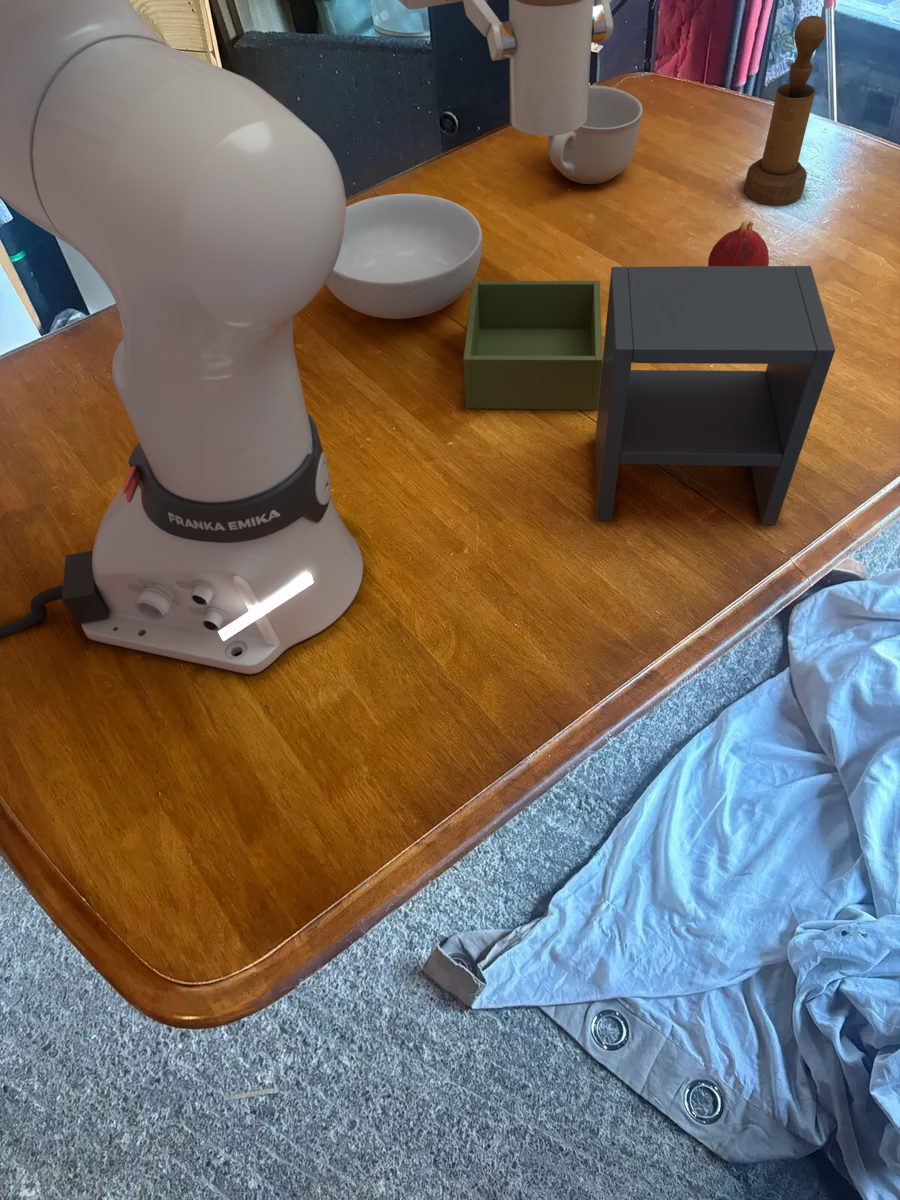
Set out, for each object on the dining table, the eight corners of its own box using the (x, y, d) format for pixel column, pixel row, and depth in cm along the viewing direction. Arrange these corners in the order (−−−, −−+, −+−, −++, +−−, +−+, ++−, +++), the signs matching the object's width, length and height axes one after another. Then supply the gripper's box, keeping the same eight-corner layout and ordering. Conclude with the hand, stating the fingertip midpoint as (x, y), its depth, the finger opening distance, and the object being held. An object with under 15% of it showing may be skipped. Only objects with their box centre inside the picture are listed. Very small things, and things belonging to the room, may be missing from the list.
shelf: (597, 520, 74) (615, 349, 60) (595, 438, 80) (611, 266, 66) (776, 524, 72) (835, 349, 59) (760, 441, 78) (811, 265, 65)
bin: (465, 408, 83) (463, 359, 79) (474, 330, 91) (472, 280, 86) (597, 410, 82) (602, 359, 78) (595, 330, 89) (599, 280, 85)
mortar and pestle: (734, 197, 104) (769, 23, 89) (756, 172, 107) (794, 0, 92) (789, 211, 101) (834, 34, 87) (811, 185, 104) (857, 11, 90)
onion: (760, 314, 90) (778, 240, 83) (701, 310, 90) (715, 237, 84) (759, 281, 93) (777, 208, 87) (703, 278, 94) (716, 205, 88)
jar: (506, 137, 66) (505, -6, 58) (510, 101, 69) (509, -39, 62) (588, 136, 65) (597, -10, 58) (588, 99, 69) (596, -42, 61)
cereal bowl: (357, 362, 88) (346, 300, 83) (304, 279, 98) (292, 218, 92) (510, 314, 92) (510, 251, 86) (445, 238, 102) (441, 177, 96)
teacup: (587, 142, 114) (591, 75, 107) (654, 170, 108) (663, 100, 102) (510, 184, 108) (510, 115, 102) (576, 215, 103) (580, 144, 97)
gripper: (365, -179, 57) (415, 48, 58) (666, -222, 59) (705, -2, 61) (360, -111, 63) (406, 93, 65) (633, -152, 65) (669, 45, 67)
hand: (553, 46), depth 63 cm, fingers closed on jar, 6 cm apart
